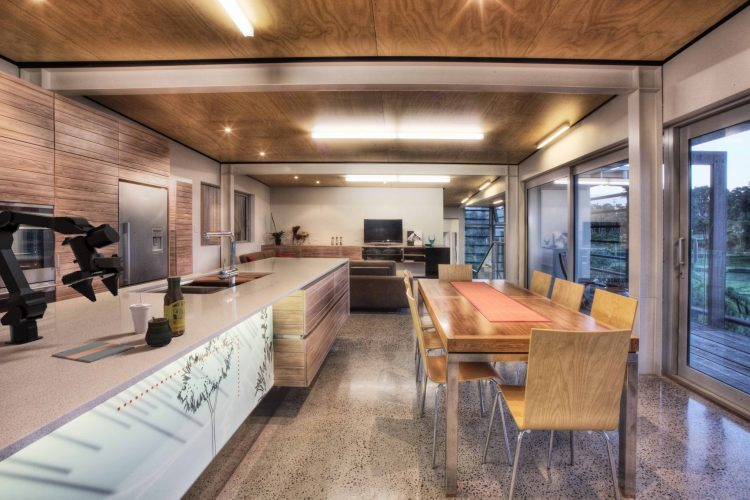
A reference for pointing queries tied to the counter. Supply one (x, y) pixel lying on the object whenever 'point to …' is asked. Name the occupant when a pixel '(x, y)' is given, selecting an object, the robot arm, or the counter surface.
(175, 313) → the sauce bottle
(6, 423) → the counter surface
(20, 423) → the counter surface
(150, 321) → the mate gourd
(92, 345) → the slate board
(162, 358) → the counter surface
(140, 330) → the smoothie
